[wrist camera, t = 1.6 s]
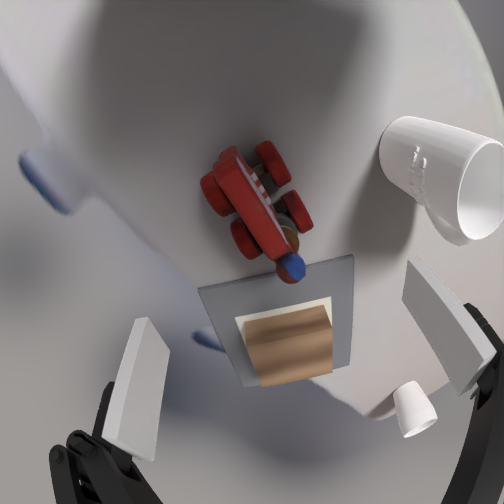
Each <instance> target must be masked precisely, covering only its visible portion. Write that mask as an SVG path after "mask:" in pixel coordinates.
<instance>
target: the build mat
mask: <svg viewBox="0 0 504 504" xmlns="http://www.w3.org/2000/svg"><path fill="white" fill-rule="evenodd" d="M305 266H306V271H305V272H306V276H305V277H303V278H302V280H300V281H299V282H298V283H295V284H287V283H285V282H283V281H282V280H281V279H280V278H279V277H278V274H277V272H274V273H269V274H264V275H260V276H255V277H250V278H246V279H241V280H236V281H231V282H227V283H222V284H217V285H212V286H207V287H202V288H198V293H199V295H200V298H201V300H202V302H203V304H204V306H205V309H206V311H207V313H208V315H209V317H210V320H211V322H212V324H213V326H214V328H215V330H216V332H217V335H218V337H219V339H220V341H221V343H222V345H223V347H224V349H225V351H226V353H227V355H228V357H229V359H230V361H231V363H232V365H233V367H234V369H235V371H236V373H237V375H238V377H239V379H240V380H241V383H242V384H243V386H244V387H250V386H256V385H261V382H260V380H259V377H258V375H257V373H256V370H255V368H254V365H253V363H252V360H251V358H250V355H249V353H248V350H247V348H246V339H245V321H251V320H256V319H261V318H266V317H271V316H275V315H280V314H285V313H289V312H294V311H298V310H303V309H307V308H311V307H315V306H319V305H324V307H325V309H326V312H327V315H328V317H329V320H330V323H331V325H332V341H333V366H332V370H333V369H336V368H340V367H344V366H347V365H349V362H350V351H351V338H352V321H353V296H354V257H353V255H348V256H344V257H339V258H335V259H331V260H327V261H322V262H318V263H314V264H309V265H305Z"/></svg>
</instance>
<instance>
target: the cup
mask: <svg viewBox="0 0 504 504" xmlns="http://www.w3.org/2000/svg"><path fill="white" fill-rule="evenodd" d="M393 399H394V403H395V408H396V413H397V418H398V423H399V428H400V430H401V432H402V434H403V437H405V438H406V437H410V436H413V435H415V434H417V433H419V432H421V431H423V430H425V429H426V428H428V427H429V426H431V425H432V424H434V423H435V422H436V421H437V415H436V413H435V410H434V407H433V406H432V404H431V403H430V401H429V400H428V398H427V397H426V395H425V394H424V392H423V391H422V389H421V388H420V386H419V385H418V383H417V382H416V381H410V382H407V383H405V384H403V385H401V386H400V387H398V388H397V389H396V390H395V391H394V393H393Z"/></svg>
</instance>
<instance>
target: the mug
mask: <svg viewBox="0 0 504 504" xmlns="http://www.w3.org/2000/svg"><path fill="white" fill-rule="evenodd" d="M379 159H380V164H381V167H382V170H383V172H384V174H385V176H386V177H387V178H388V179H389V181H390V182H392V183H393V184H394V185H396V186H397V187H399V188H400V189H402V190H403V191H405V192H406V193H408V194H409V195H411V196H412V197H414V199H415V200H416V201H417V203H419V204H420V205H421V206H423V205H424V207H425V209H426V212H427V214H428V216H429V218H430V220H431V222H432V223H433V225H434V226H435V228H436V229H437V231H438V232H439V233H440V234H441V236H442V237H443V238H444V239H446V240H447V241H449V242H450V243H452V244H454V245H458V246H461V245H466V244H468V243H470V242H471V241H472V240H479V239H483V238H485V237H487V236H489V235H490V234H491V233H492V232H493V231H494V230H495V229H496V228H497V227H498V226H499V225H500V223H501V222H502V220H503V219H504V146H503V145H502V144H501V143H500V142H498V141H496V140H494V139H491V138H488V137H485V136H482V135H480V134H477V133H474V132H470V131H467V130H464V129H461V128H457V127H454V126H450V125H446V124H443V123H439V122H435V121H431V120H426V119H422V118H417V117H412V116H404V117H400V118H398V119H396V120H395V121H393V122H392V123H391V124H390V125H389V126H388V127H387V128H386V130H385V131H384V133H383V135H382V138H381V141H380V145H379Z"/></svg>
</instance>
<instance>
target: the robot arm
mask: <svg viewBox="0 0 504 504" xmlns="http://www.w3.org/2000/svg"><path fill="white" fill-rule="evenodd" d="M402 301H403V303H404V304H405V306H406V307H407V309H408V310H409V312H410V313H411V315H412V316H413V318H414V319H415V321H416V323H417V324H418V326H419V327H420V329H421V330H422V332H423V334H424V335H425V337H426V339H427V340H428V342H429V344H430V345H431V347H432V349H433V350H434V352H435V354H436V356H437V357H438V359H439V361H440V363H441V364H442V366H443V368H444V370H445V372H446V373H447V375H448V377H449V379H450V381H451V383H452V385H453V387H454V388H455V390H456V392H457V394H458V396H460V395H462V394H463V393H465V392H467V391H468V390H470V389H471V388H472V387H473V386H474V384H475V383H476V382H477V384H478V388H477V389H476V390H475V391H474V393H473V394H472V395H471V398H470V399H472V398H473V397H474V396H475V395H476V397H475V402H474V407H473V412H472V416H471V420H470V425H469V428H468V432H467V436H466V439H465V442H464V446H463V449H462V452H461V455H460V458H459V461H458V464H457V467H456V469H455V472H454V475H453V477H452V480H451V482H450V485H449V487H448V489H447V492H446V494H445V496H444V498H443V500H442V503H441V504H497V502H498V500H499V497H500V494H501V492H502V488H503V486H504V344H503V342H502V341H501V340H500V338H499V337H498V335H497V334H496V333H495V331H494V330H493V328H492V327H491V326H490V324H488V322H487V320H486V319H485V318H483V315H482V314H481V313H480V311H479V310H478V309H477V308H476V307H474V306H473V305H471V304H470V303H467V304H464V305H462V303H461V302H460V301H459V300H458V298H457V297H456V296H455V295H454V294H453V292H452V291H451V290H450V289H449V288H448V287H447V285H446V284H445V283H444V282H443V281H442V280H441V278H440V277H439V276H438V275H437V274H436V273H435V272H434V271H433V269H432V268H431V267H430V266H429V265H428V264H427V263H426V262H425V261H424V260H423V259H422V258H421V256H417V257H414V258H410V259H408V262H407V270H406V277H405V284H404V290H403V296H402ZM169 355H170V350H169V348H168V347H167V345H166V344H165V342H164V341H163V339H162V338H161V336H160V335H159V333H158V332H157V330H156V329H155V327H154V325H153V324H152V322H151V320H150V319H149V317H143V318H136V319H135V322H134V325H133V328H132V331H131V333H130V336H129V339H128V342H127V346H126V348H125V352H124V355H123V358H122V361H121V364H120V368H119V371H118V374H117V378H116V381H115V382H109V383H108V385H107V386H106V388H105V389H104V391H103V395H102V399H101V402H100V406H99V410H98V413H97V417H96V421H95V425H94V429H93V433H92V436H90V435H88V434H87V433H85V432H84V431H82V430H76V431H73V432H72V433H71V434H70V435H69V437H68V439H67V442H66V447H67V448H65V447H64V446H62V445H55V446H53V448H52V449H51V450H50V453H49V463H50V471H51V477H52V484H53V489H54V494H55V499H56V503H57V504H163V503H162V502H161V500H160V499H159V498H158V496H157V495H156V494H155V492H154V491H153V490H152V488H151V487H150V485H149V484H148V483H147V481H146V480H145V478H144V477H143V475H142V474H141V472H140V471H139V469H138V468H137V466H136V465H135V464H134V462H133V461H132V456H133V457H135V458H137V459H139V460H145V461H154V458H155V448H156V440H157V431H158V424H159V417H160V410H161V403H162V396H163V390H164V383H165V377H166V372H167V366H168V360H169ZM79 480H80V481H81V485H80V483H79Z"/></svg>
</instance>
